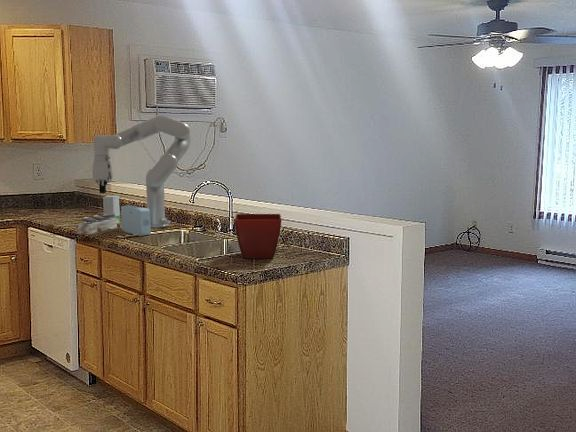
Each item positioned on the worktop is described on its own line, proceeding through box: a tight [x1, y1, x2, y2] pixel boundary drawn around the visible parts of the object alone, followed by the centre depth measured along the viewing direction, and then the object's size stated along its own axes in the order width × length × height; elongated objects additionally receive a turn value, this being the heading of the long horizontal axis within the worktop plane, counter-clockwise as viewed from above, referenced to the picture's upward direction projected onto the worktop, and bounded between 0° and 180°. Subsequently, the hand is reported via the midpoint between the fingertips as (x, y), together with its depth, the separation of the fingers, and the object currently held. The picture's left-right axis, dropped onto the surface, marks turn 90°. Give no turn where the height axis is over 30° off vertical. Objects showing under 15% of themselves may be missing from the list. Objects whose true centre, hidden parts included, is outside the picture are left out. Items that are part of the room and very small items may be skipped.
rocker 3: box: [101, 214, 115, 219], centre depth 371 cm, size 6×4×2 cm, turn 66°
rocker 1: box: [81, 216, 96, 223], centre depth 357 cm, size 6×4×2 cm, turn 66°
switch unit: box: [74, 218, 122, 236], centre depth 364 cm, size 14×26×5 cm, turn 156°
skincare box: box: [102, 195, 121, 223], centre depth 390 cm, size 8×7×16 cm
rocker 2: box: [91, 214, 106, 221], centre depth 364 cm, size 6×4×2 cm, turn 66°
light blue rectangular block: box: [120, 204, 152, 237], centre depth 355 cm, size 23×6×13 cm, turn 38°
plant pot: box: [234, 213, 282, 259], centre depth 291 cm, size 19×19×17 cm
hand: (102, 193), depth 370 cm, fingers closed
